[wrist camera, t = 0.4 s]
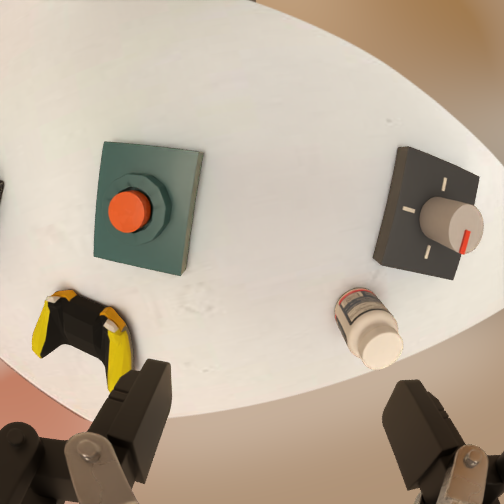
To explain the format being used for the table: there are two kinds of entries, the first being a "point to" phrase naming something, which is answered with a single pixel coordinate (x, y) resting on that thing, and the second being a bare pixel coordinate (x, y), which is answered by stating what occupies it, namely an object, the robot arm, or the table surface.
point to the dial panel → (408, 213)
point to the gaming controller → (85, 332)
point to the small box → (0, 185)
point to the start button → (129, 211)
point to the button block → (161, 200)
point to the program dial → (452, 224)
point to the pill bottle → (368, 328)
